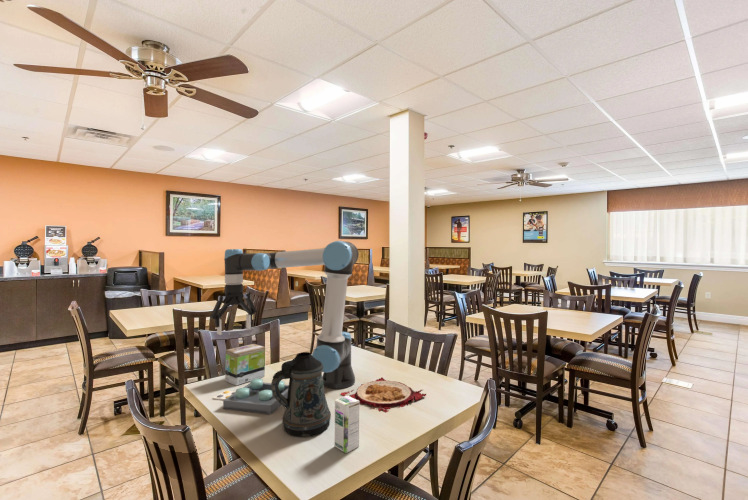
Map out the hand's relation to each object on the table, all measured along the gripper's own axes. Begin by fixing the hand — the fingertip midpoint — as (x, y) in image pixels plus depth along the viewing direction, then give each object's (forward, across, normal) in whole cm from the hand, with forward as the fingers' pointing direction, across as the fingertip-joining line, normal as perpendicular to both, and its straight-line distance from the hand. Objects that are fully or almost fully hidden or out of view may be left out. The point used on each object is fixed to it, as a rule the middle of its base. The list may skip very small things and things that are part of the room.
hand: (234, 331), depth 159 cm
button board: (+25, 0, +22) cm, 33 cm away
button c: (+21, -2, +15) cm, 26 cm away
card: (+24, +7, +7) cm, 27 cm away
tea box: (+25, -8, -5) cm, 27 cm away
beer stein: (+25, +2, +52) cm, 58 cm away
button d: (+21, +7, +20) cm, 30 cm away
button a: (+21, -7, +24) cm, 33 cm away
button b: (+21, +2, +29) cm, 36 cm away
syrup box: (+25, 0, +72) cm, 76 cm away
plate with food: (+26, -36, +56) cm, 71 cm away
